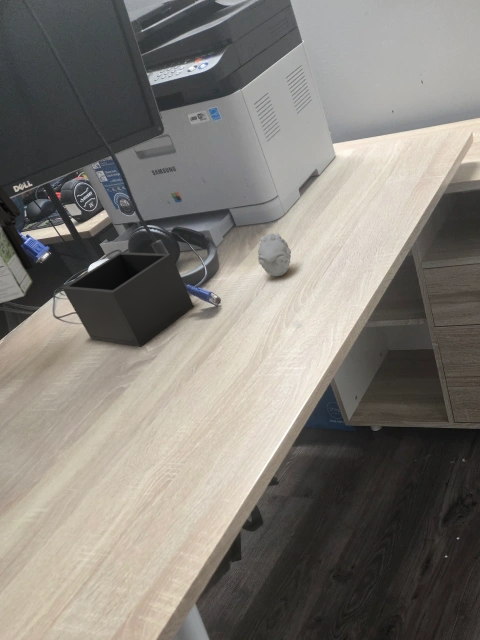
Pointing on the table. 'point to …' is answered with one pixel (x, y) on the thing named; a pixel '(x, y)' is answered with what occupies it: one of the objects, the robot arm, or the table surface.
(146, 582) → the table surface
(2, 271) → the syrup box
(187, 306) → the open box
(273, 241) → the grey decorated egg
